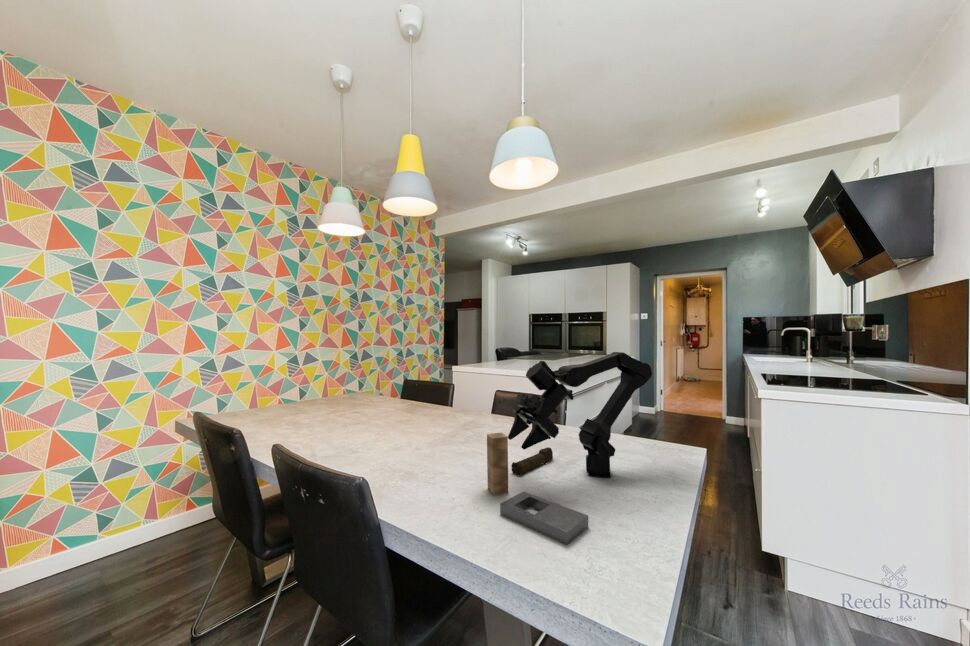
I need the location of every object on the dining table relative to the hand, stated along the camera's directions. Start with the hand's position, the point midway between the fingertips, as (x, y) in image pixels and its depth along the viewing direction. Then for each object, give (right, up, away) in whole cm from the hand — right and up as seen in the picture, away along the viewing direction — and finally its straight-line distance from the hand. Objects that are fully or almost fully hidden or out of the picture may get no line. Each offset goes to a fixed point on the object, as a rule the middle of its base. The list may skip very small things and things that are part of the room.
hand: (515, 443), depth 99 cm
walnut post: (-5, -12, -2) cm, 13 cm away
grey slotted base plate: (+5, -12, -18) cm, 22 cm away
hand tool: (+7, -13, +15) cm, 21 cm away
